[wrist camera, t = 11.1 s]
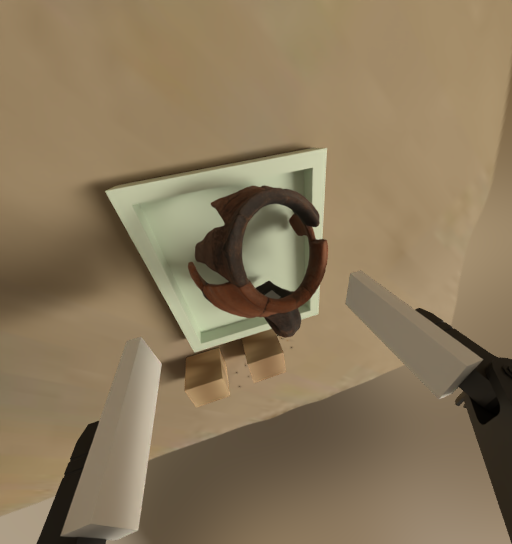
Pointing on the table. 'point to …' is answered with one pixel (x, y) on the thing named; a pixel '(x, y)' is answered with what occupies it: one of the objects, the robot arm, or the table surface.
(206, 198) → the tray
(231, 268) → the broken pot
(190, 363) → the oak cube
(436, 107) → the table surface
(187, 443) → the table surface
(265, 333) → the oak cube
